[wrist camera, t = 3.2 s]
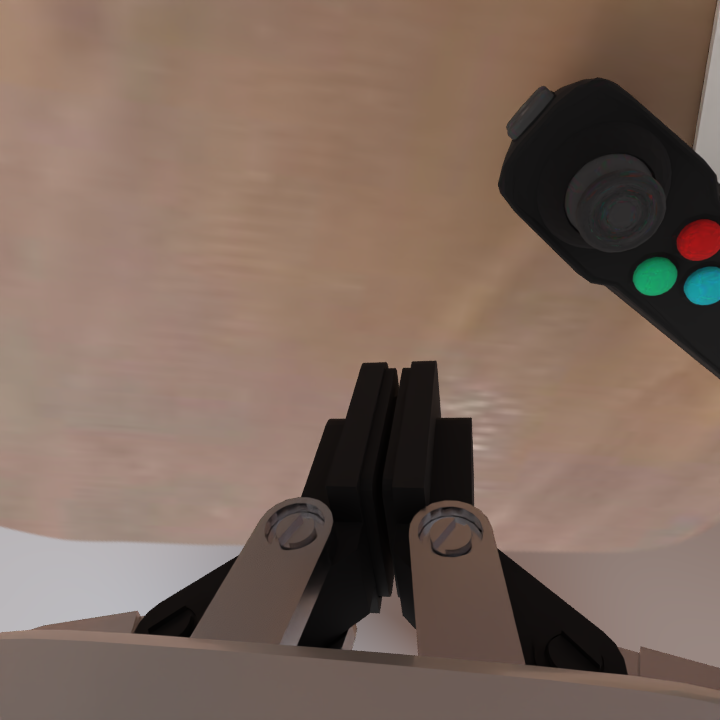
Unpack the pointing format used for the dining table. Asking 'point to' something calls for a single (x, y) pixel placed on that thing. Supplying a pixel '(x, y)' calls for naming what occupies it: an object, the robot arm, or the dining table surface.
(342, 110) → the dining table surface
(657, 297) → the controller
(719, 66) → the mat
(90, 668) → the robot arm
